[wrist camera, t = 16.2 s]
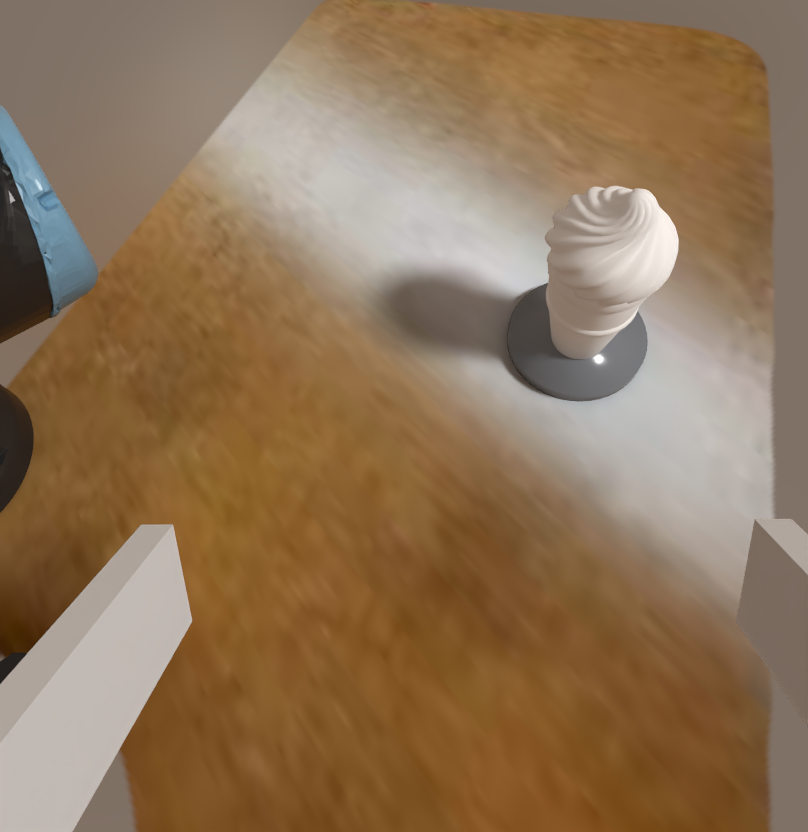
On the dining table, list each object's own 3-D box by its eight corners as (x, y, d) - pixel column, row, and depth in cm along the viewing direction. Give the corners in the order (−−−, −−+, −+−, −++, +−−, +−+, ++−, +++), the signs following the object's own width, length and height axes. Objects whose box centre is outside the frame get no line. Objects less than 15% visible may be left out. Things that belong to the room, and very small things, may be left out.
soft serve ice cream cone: (504, 340, 50) (526, 192, 35) (568, 277, 52) (613, 113, 37) (589, 402, 47) (651, 269, 32) (652, 333, 49) (737, 179, 34)
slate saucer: (482, 321, 52) (483, 314, 51) (591, 266, 53) (593, 259, 52) (556, 424, 47) (558, 419, 46) (672, 362, 49) (676, 355, 48)
